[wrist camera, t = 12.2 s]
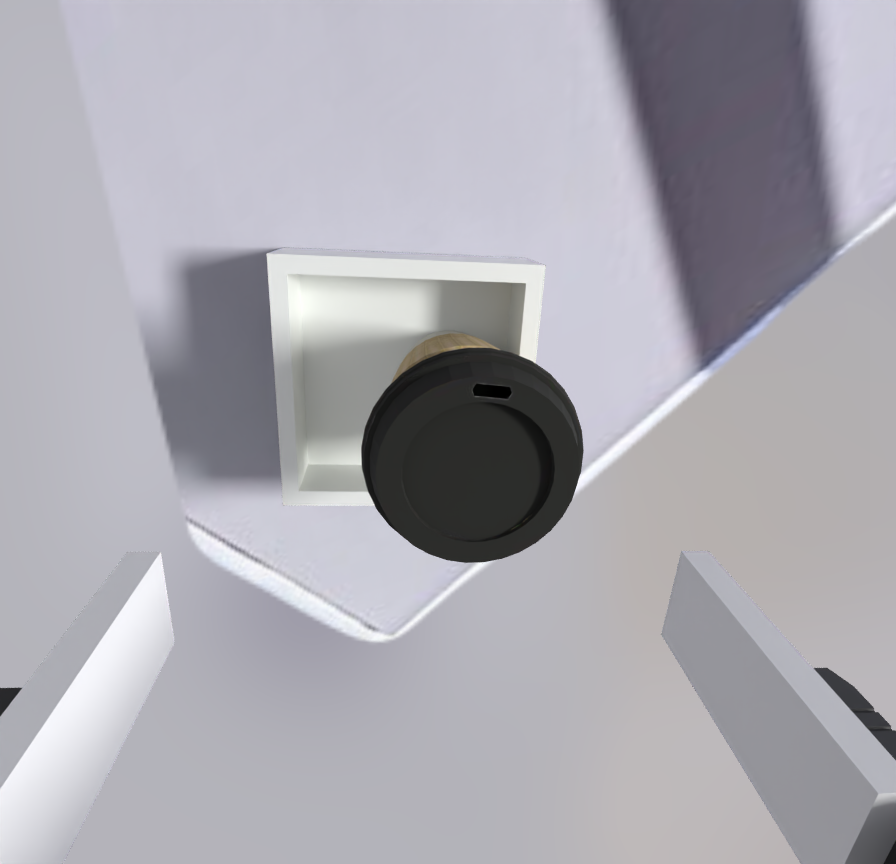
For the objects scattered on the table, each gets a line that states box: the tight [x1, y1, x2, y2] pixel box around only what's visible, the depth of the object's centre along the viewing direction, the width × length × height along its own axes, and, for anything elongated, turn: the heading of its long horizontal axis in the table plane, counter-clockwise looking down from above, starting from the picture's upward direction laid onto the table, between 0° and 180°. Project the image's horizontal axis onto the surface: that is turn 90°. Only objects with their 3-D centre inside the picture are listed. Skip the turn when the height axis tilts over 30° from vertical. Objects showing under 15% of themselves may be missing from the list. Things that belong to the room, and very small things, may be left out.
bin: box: [267, 247, 546, 506], centre depth 36 cm, size 15×15×5 cm
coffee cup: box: [361, 330, 583, 563], centre depth 30 cm, size 10×10×15 cm
